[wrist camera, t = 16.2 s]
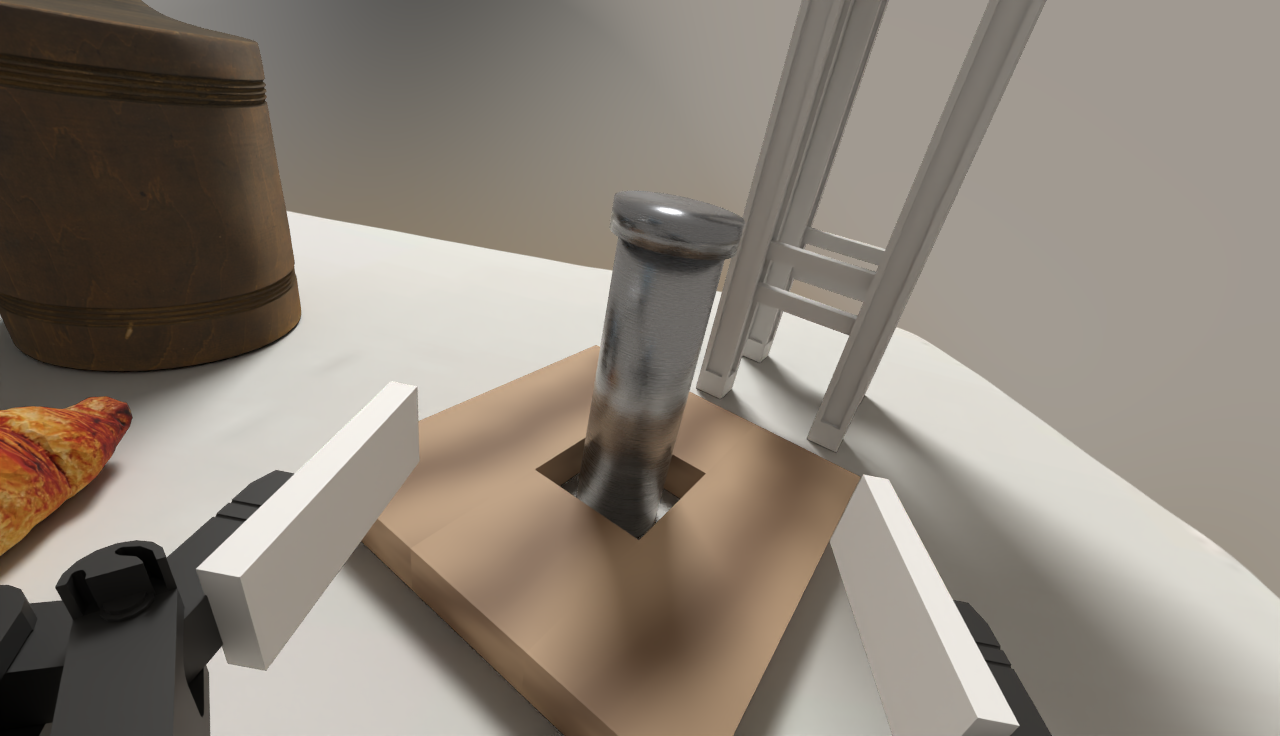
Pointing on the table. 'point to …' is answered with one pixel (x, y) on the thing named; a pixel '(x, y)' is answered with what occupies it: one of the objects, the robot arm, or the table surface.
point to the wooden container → (137, 190)
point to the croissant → (52, 458)
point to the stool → (796, 179)
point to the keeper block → (611, 556)
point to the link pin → (650, 347)
